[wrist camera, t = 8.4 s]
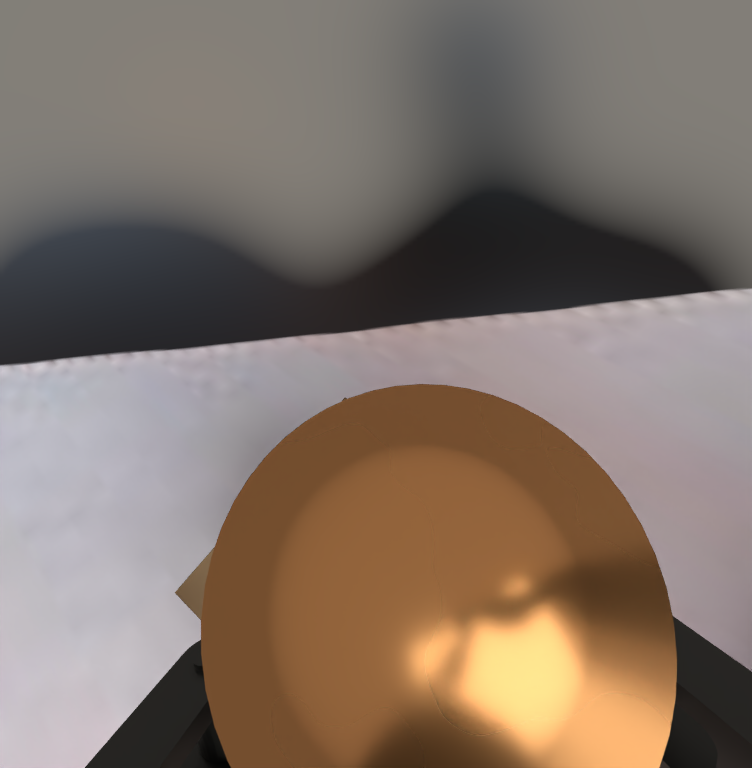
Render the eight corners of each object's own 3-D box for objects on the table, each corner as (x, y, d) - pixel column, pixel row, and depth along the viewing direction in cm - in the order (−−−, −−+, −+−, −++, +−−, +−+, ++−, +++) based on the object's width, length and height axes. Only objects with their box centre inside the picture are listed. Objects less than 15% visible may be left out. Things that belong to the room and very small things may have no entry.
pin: (397, 516, 25) (371, 240, 7) (504, 599, 23) (900, 519, 4) (317, 625, 22) (-49, 654, 4) (427, 729, 20) (605, 1653, 2)
